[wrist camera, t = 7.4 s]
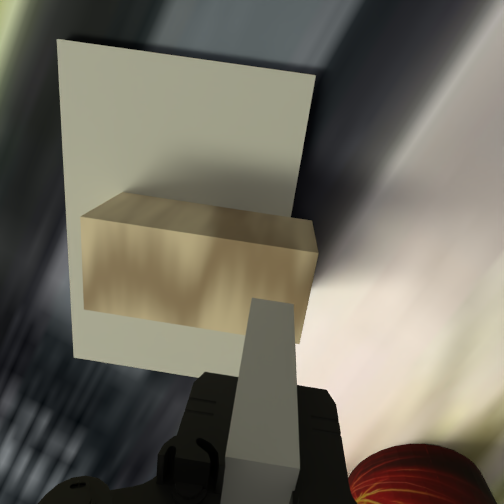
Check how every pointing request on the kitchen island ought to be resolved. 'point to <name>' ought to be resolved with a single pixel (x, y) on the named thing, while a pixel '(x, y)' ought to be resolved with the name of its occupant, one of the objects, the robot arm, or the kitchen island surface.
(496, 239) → the kitchen island surface
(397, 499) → the mug
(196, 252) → the maple block
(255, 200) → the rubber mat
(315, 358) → the kitchen island surface
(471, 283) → the kitchen island surface
